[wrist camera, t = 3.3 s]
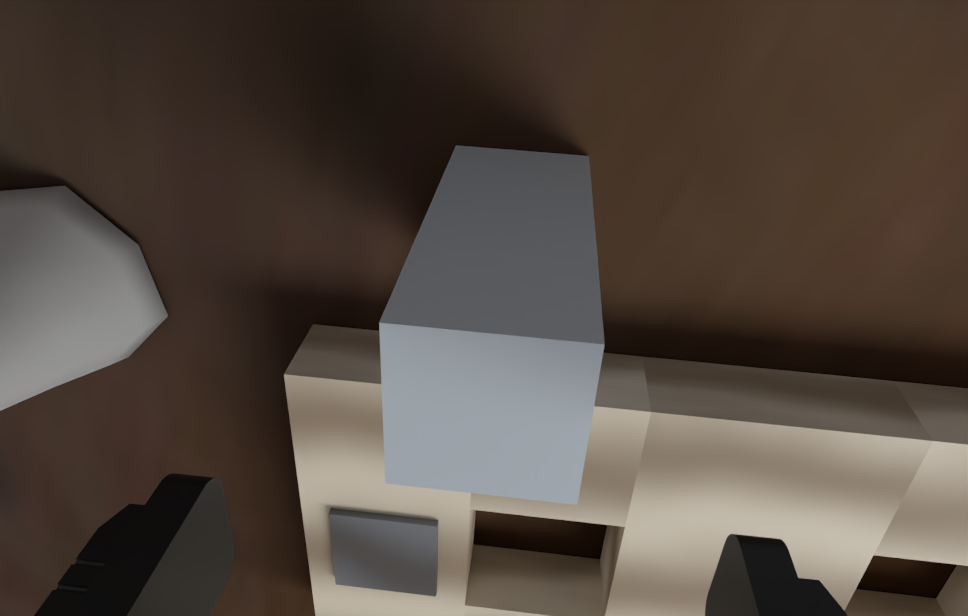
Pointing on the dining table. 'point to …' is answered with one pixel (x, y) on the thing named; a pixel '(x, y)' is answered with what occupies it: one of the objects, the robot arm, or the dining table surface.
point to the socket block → (640, 491)
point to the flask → (66, 292)
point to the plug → (496, 331)
